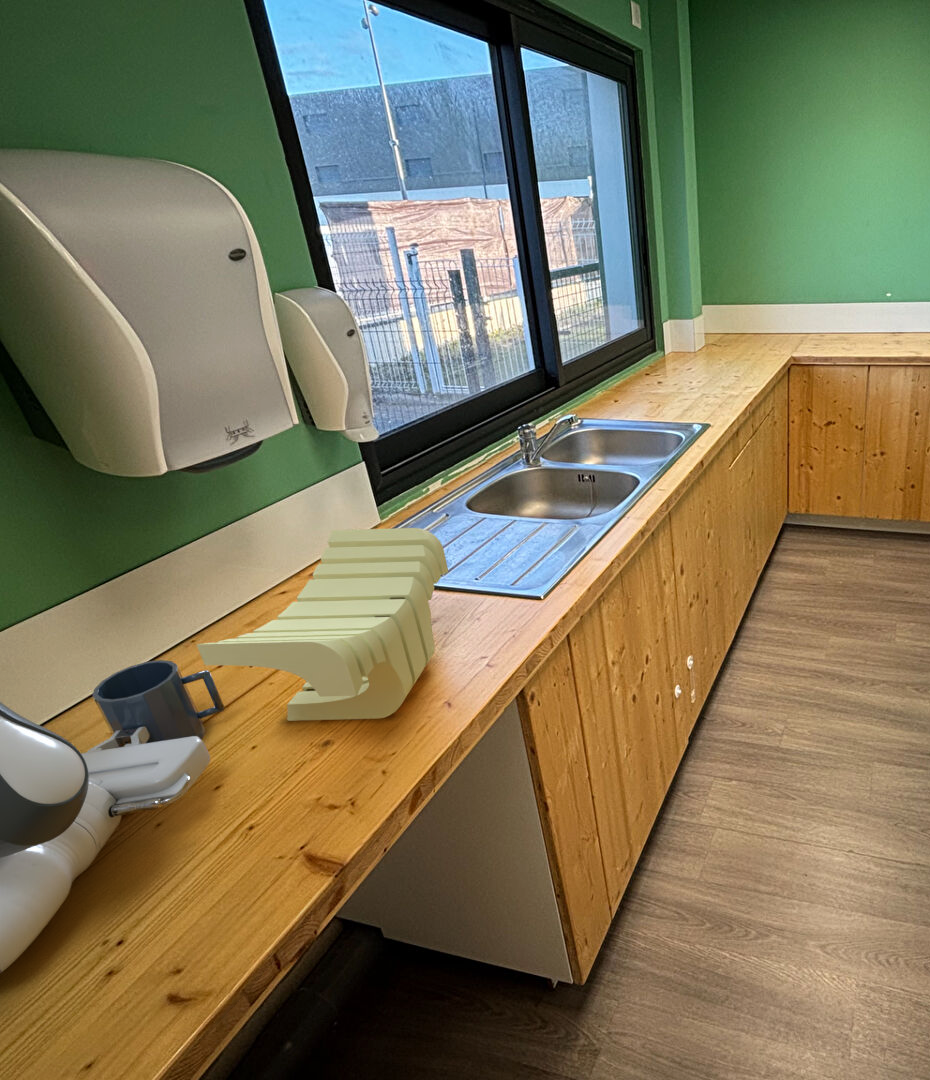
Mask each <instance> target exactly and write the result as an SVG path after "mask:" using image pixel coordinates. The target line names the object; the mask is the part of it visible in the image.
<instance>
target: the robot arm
mask: <svg viewBox="0 0 930 1080" xmlns="http://www.w3.org/2000/svg"><path fill="white" fill-rule="evenodd" d="M149 737H150V735H149V732H148V730H147V728H146V727H138V728H132V729H124V730H117V731H116V732H115V733H114V734H113V735H112V734H111V736H110V737H109V738H108V739H106V740H103V741H102V742H100V743H98V744H97V745H95V746H93V747H91V748H90V749H88V750H87V752H80V750H78V748H77V747H76V746H75V745H74V744H73V743H71V742H70V741H69V740H67V739H66V738H64V737H63V736H61V735H60V734H59V733H56V732H54V731H52V730H50V729H48V728H46V727H44V726H42V725H39V724H37V723H36V722H34V721H31V720H29V719H28V718H26V717H24V716H22V715H21V714H19V713H17V712H16V711H14V710H13V709H11V708H10V707H8V706H7V705H5V704H4V703H3V702H1V701H0V974H1V973H2V972H4V971H5V970H6V969H7V968H9V967H10V966H11V965H12V964H14V962H15V961H16V960H17V959H18V958H19V957H21V956H22V954H23V953H24V952H25V951H26V950H27V949H28V948H29V947H30V946H31V945H32V943H33V942H34V941H35V940H36V938H38V936H39V935H40V934H41V932H42V931H43V930H44V929H45V927H46V926H47V925H48V924H49V922H50V921H51V920H52V919H53V917H54V916H55V914H56V913H57V912H58V911H59V909H60V908H61V906H62V905H63V904H64V902H65V901H66V899H67V897H68V896H69V894H70V891H71V887H72V885H73V882H74V881H75V879H76V878H77V877H78V876H80V875H82V873H84V872H85V871H86V870H87V869H88V868H89V867H90V865H91V864H92V863H93V861H94V860H95V859H96V858H97V856H98V855H99V853H100V852H101V850H102V849H103V847H104V846H105V845H106V844H107V842H108V841H109V839H110V838H111V837H112V835H113V833H114V832H115V831H116V830H117V828H118V826H119V825H120V822H121V819H122V816H125V815H130V814H134V813H137V812H138V813H139V812H143V811H154V810H155V811H156V810H158V809H161V808H163V807H164V806H168V805H170V804H172V803H174V802H177V801H178V800H179V799H180V798H182V797H183V796H184V795H185V794H186V793H187V792H188V791H189V790H190V789H191V787H192V786H193V785H195V783H196V782H197V781H198V779H199V778H200V777H201V776H202V775H203V773H204V772H205V770H206V769H207V768H208V766H209V765H210V763H211V756H210V752H209V749H208V748H207V745H206V744H205V742H204V741H203V739H200V738H199V737H197V736H191V737H185V738H179V739H172V740H165V741H159V742H152V743H146V742H147V740H148V739H149ZM145 743H146V744H145Z"/></svg>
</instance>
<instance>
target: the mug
mask: <svg viewBox="0 0 930 1080" xmlns="http://www.w3.org/2000/svg"><path fill="white" fill-rule="evenodd" d="M200 680H203V683H204V685H205V687H206V690H207V692H208V695H209V696H210V699H211V701H212V704H213V707H209V708H207V709H204V710H200V711H198V708H197V706H196V705H195V702H194V700H193V697H192V695H191V693H190V691H189V689H188V686H187V684H190V683H193V682H196V681H200ZM215 683H216V682H214V679H213V677H212V673H211V672H210V671H209V670H206V669H205V670H202V671H199V672H196V673H192V674H188V675H186V676H183V675H182V673H181V671H180V668H179V665H178V664H176V663H175V662H174V661H172V660H163V659H157V660H150V661H145V662H141V663H138V664H134V665H131V666H127V667H125V668H123V669H121V670H119V671H116V672H115V673H112V674H111V675H109V676H108V677H106V678H105V679H103V680H101V682H99V683H98V685H97V686H96V687H94V689H93V691H92V699H93V701H94V702H95V704H96V706H97V708H98V710H99V712H100V714H101V716H102V718H103V720H104V722H105V724H106V725H107V727H108V729H109V731H110V733H111V736H112V735H113V734H114V733H115V732H116V731H117V730H124V729H132V728H138V727H146V728H147V730H148V732H149V735H150V737H149V739H148V740H147V742H146V743H152V742H159V741H165V740H172V739H179V738H185V737H191V736H197V737H199V738H200V739H201V740H203V738H204V736H205V733H206V727H204V721H203V719H204V718H207V717H210V716H213V715H216V714H219V713H222V712H224V711H225V710H226V709H225V705H224V703H223V700H222V698H221V695H220V693H219V691H218V688H217V686H216V684H215ZM146 743H145V744H146Z"/></svg>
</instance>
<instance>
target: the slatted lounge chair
mask: <svg viewBox="0 0 930 1080" xmlns="http://www.w3.org/2000/svg"><path fill="white" fill-rule="evenodd" d="M327 544H328V547H325V548H324V550H323V552H322V555H321V557H320V562H321V563H318V564H317V565H316V567H315V569H314V571H313V573H312V578H313V579H312V578H311V579H309V580H308V581H307V582H306V584H305V585H304V587H303V588H302V589H301V591H300V593H299V594H298V595H297V596H296V600H297V601H292V602H291V603H290V604H289V605H288V606H287V607H286V608H285V610H283V611H281V613H279V614H278V615H277V616H276V618H277V619H272V620H270V621H268V622H267V623H264V625H262V626H260V627H257V628H256V629H253V630H252V632H247V633H244V634H241V635H238V636H236V638H228V639H223V640H218V641H217V642H205V643H197V644H195V645H196V648H197V649H198V652H199V655H200V657H201V660H202V661H203V664H204V666H237V667H238V666H241V667H257V668H266V669H273V670H279V671H283V672H287V673H290V674H292V675H295V676H297V677H299V678H301V679H302V680H304V681H306V682H305V683H304V684H303V686H302V690H301V691H299V690H298V691H297V693H296V694H295V695H294V696H293V697H292V698H291V699H290V700H289V702H287V704H286V706H287V707H286V709H287V718H286V721H287V722H288V721H289V722H290V721H292V722H293V721H328V720H329V721H331V720H333V721H334V720H336V721H337V720H372V719H373V720H374V719H384V718H387V717H389V716H391V715H392V714H394V713H396V712H397V710H398V709H399V708H400V707H401V706H402V704H403V703H404V702H405V700H406V698H407V697H408V695H409V693H410V692H411V691H412V688H413V687H414V685H415V684H416V683H417V681H418V679H419V678H420V676H421V675H422V673H423V671H424V670H425V668H426V667H427V666H428V663H430V661H431V659H432V658H433V656H434V654H435V650H436V646H435V640H434V635H433V625H432V615H431V614H432V611H431V606H430V602H429V601H432V597H433V593H434V590H435V585H436V584H438V582H439V581H440V579H441V578H442V576H445V575H446V574H447V573H450V572H449V567H448V562H447V558H446V553H445V549H444V547H443V544H442V542H441V541H440V539H439V538H438V537H437V536H436V535H434V533H432V532H431V531H428V530H426V529H424V528H420V527H398V528H397V527H396V528H395V527H394V528H363V529H362V528H361V529H360V528H359V529H332V530H331V532H330V535H329V538H328V541H327Z"/></svg>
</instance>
